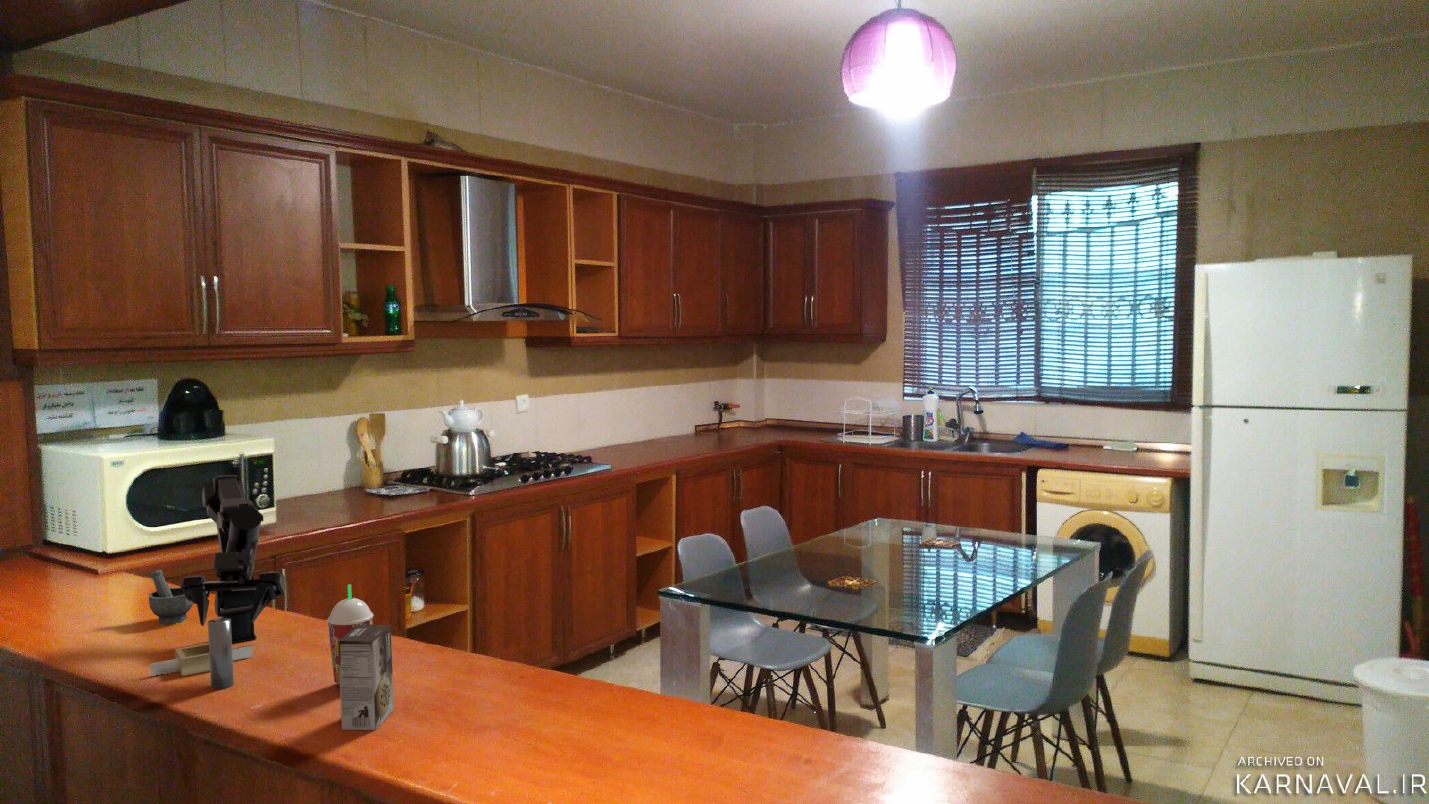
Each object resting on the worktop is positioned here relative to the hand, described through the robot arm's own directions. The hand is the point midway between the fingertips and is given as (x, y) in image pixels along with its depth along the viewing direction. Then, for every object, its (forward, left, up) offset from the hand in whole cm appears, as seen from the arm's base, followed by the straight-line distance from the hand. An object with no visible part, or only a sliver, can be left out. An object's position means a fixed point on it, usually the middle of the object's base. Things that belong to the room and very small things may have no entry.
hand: (226, 623), depth 194 cm
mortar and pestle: (+3, -51, -11) cm, 52 cm away
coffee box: (-16, +38, -11) cm, 43 cm away
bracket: (+3, -11, -11) cm, 16 cm away
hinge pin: (+2, +4, -11) cm, 12 cm away
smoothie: (-19, +19, -11) cm, 29 cm away
